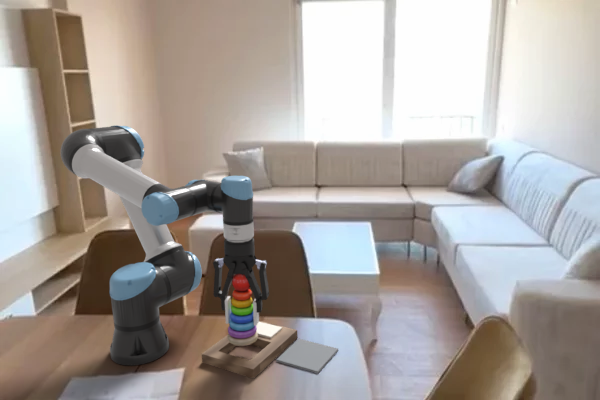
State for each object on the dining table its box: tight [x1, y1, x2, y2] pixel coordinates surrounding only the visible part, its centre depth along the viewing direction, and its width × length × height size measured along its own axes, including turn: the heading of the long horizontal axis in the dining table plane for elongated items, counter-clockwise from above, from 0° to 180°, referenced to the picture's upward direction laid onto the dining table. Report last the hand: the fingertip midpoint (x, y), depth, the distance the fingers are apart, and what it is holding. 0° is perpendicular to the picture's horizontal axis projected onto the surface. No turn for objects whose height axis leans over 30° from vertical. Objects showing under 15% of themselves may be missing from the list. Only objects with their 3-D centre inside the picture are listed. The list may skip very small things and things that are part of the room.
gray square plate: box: [275, 338, 339, 374], centre depth 130 cm, size 12×12×1 cm
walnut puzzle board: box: [201, 320, 299, 379], centre depth 133 cm, size 16×22×3 cm
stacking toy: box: [227, 274, 258, 347], centre depth 128 cm, size 8×8×19 cm
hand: (242, 322), depth 129 cm, fingers closed on stacking toy, 7 cm apart
